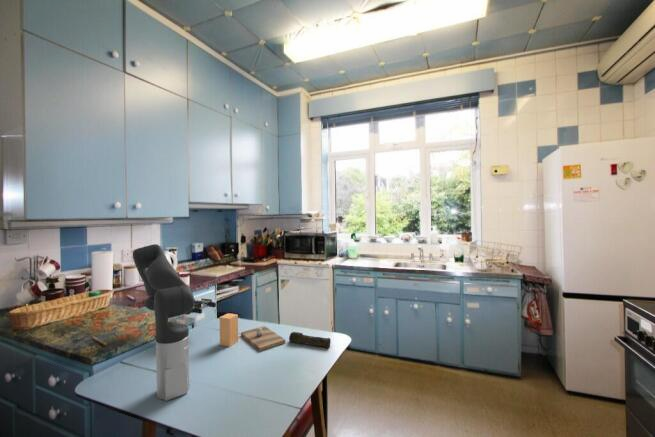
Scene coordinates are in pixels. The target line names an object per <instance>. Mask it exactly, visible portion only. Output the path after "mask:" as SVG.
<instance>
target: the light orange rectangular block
mask: <svg viewBox="0 0 655 437" xmlns="http://www.w3.org/2000/svg"><path fill="white" fill-rule="evenodd" d="M238 342H239V314H235V313H226V314H224V315H222V316H219V345H220V346H225V347H232V346H233V345H235V344H236V343H238Z"/></svg>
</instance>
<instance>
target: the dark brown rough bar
mask: <svg viewBox="0 0 655 437" xmlns="http://www.w3.org/2000/svg"><path fill="white" fill-rule="evenodd" d="M288 341H289V342H290V343H293V344H297V345H301V344H305V345H310V346H316V347H321V348H322V347H323V348H326V349H327V350H328V349H329V348H330V346H331V338H330V337H320V336H311V335H306V334H304V333H303V332H298V331H292V332H290V334H289V338H288Z"/></svg>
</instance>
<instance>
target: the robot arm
mask: <svg viewBox="0 0 655 437" xmlns="http://www.w3.org/2000/svg"><path fill="white" fill-rule="evenodd" d="M132 259H133V262H134V265H135V268H136V269H137V273H138V274H139V277H140V279H141V280H142V282H143V284H144V289H145V293H146V295H147V296H148V298H147V299H146V300H145V302H144V306H145V308H146V309H148V310H150V311H154V318H155V320H154V322H155V359H156V360H155V364H156V365H155V368H156V369H155V371H156V373H155V374H156V396H157V398H158V399H160V400H164V401H165V402H167V401H171V400H173V399H175V398H178V397H182V396H183V395H186V394H188V390H189V388H190V351H189V350H190V346H189V344H190V341H189V340H190V338H189V333H190V332H189V331H190V330H189V327H188V325H187V324H185V323H180V322H179V323H178V322H173V321H169V319H170V318H174V317H179V316H183V315H190V314H202V313H203V309H205V308H206V307H209V308H216V307H217V303H216V301H213V299H211V298H204V297H203V298H201V299H200V300H199V299H195V297H194V293H193V291H192V290H191V288H190V287H189V285H188V284H186V283H185V282H184V281H183V279H182V278H180V276H179V275H178V273H177V271H176V270H175V268H174V267H173V265H172V264H171V263H170V262H169V260H168V258H167V257H166V254H165V252H164V249H163V248H162V246H161V245H159V244H154V243H153V244H149V245H145V246H142V247H139V248H136V249H134V250H133V251H132Z"/></svg>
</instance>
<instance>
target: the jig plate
mask: <svg viewBox="0 0 655 437" xmlns="http://www.w3.org/2000/svg"><path fill="white" fill-rule="evenodd" d="M240 336H241V337H242V338H244V340H246V341H247V343H249V344H250V345H252V346H253V347H254V348H255V349H256V350H258V351H259V352H262V351H266V350H268V349H271V348H274V347H278V346H280V345H283V344H286V339H285V338H284V337H282V336H281V335H279V334H278V333H276V332H275V331H273V330H271V329H270V328H269V327H267V326H266V325H262V326H259V327H255V328H251V329H248V330H245V331H241V332H240Z"/></svg>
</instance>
